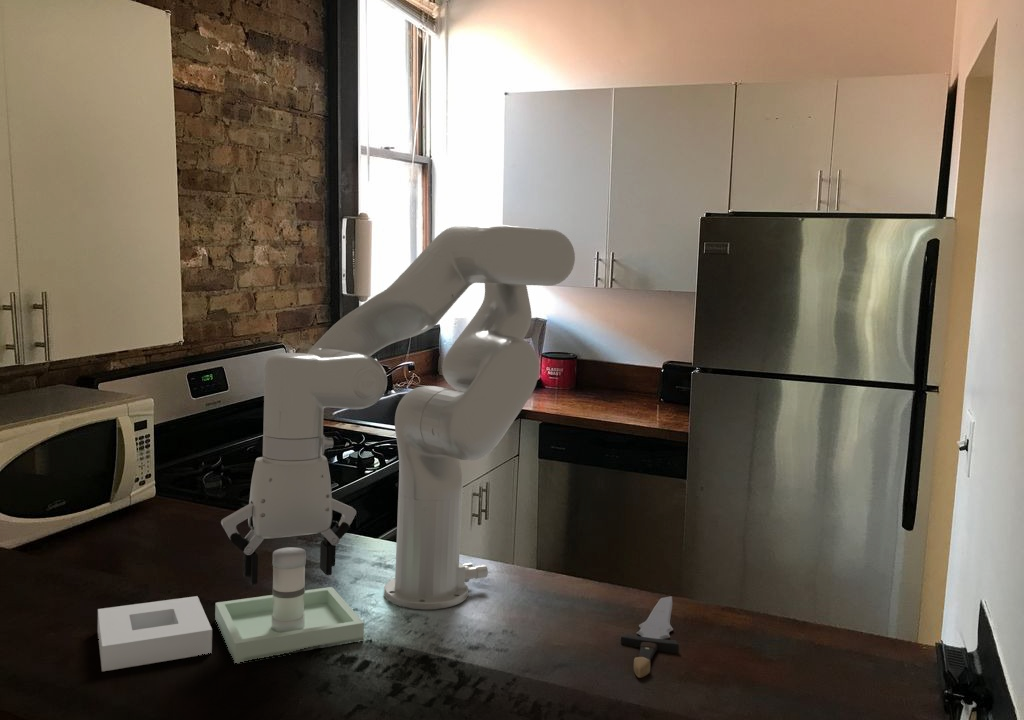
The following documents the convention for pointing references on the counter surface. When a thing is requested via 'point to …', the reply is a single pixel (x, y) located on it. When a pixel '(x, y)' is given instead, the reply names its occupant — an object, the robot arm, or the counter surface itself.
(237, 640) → the parts tray
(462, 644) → the counter surface
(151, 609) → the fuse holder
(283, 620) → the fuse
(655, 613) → the dagger
